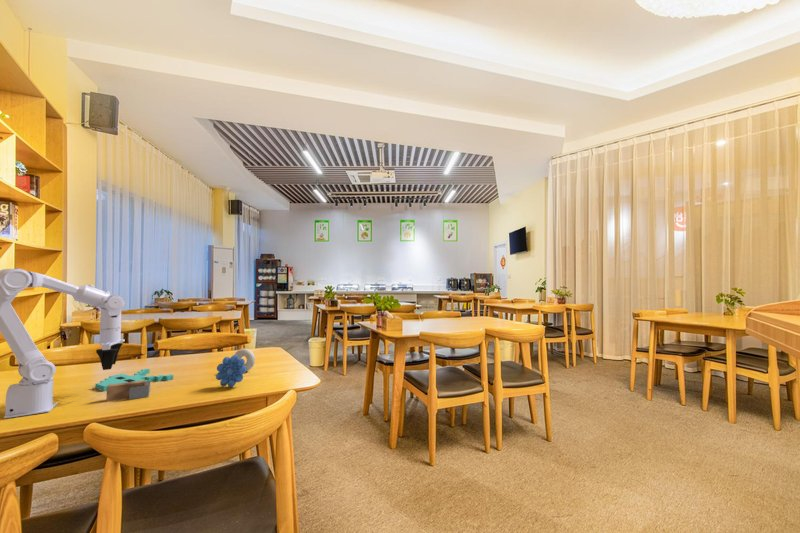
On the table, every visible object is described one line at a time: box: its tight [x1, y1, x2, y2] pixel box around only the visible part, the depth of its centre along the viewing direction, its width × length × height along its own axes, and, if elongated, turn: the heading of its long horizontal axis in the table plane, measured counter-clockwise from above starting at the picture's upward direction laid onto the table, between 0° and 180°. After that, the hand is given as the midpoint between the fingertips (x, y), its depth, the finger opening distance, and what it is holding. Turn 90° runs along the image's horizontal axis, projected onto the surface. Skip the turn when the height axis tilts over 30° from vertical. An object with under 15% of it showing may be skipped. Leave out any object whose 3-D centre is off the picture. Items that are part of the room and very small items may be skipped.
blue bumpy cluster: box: [215, 354, 247, 388], centre depth 129 cm, size 12×7×12 cm, turn 87°
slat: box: [106, 380, 145, 402], centre depth 116 cm, size 10×2×5 cm, turn 122°
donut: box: [234, 347, 256, 372], centre depth 149 cm, size 10×3×10 cm, turn 80°
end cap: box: [128, 381, 151, 400], centre depth 118 cm, size 5×6×4 cm
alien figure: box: [94, 368, 174, 392], centre depth 132 cm, size 20×2×20 cm
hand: (109, 366), depth 120 cm, fingers open, 7 cm apart
